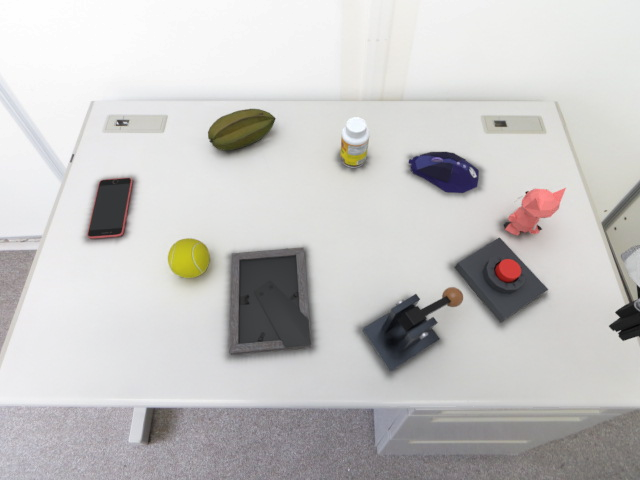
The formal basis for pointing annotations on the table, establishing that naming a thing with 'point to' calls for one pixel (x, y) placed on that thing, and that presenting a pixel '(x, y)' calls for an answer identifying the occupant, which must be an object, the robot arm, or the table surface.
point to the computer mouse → (446, 171)
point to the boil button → (508, 270)
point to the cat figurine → (533, 210)
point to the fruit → (240, 129)
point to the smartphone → (110, 208)
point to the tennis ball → (188, 258)
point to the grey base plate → (493, 290)
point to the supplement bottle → (354, 142)
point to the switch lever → (430, 309)
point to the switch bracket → (400, 335)
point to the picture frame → (268, 301)
